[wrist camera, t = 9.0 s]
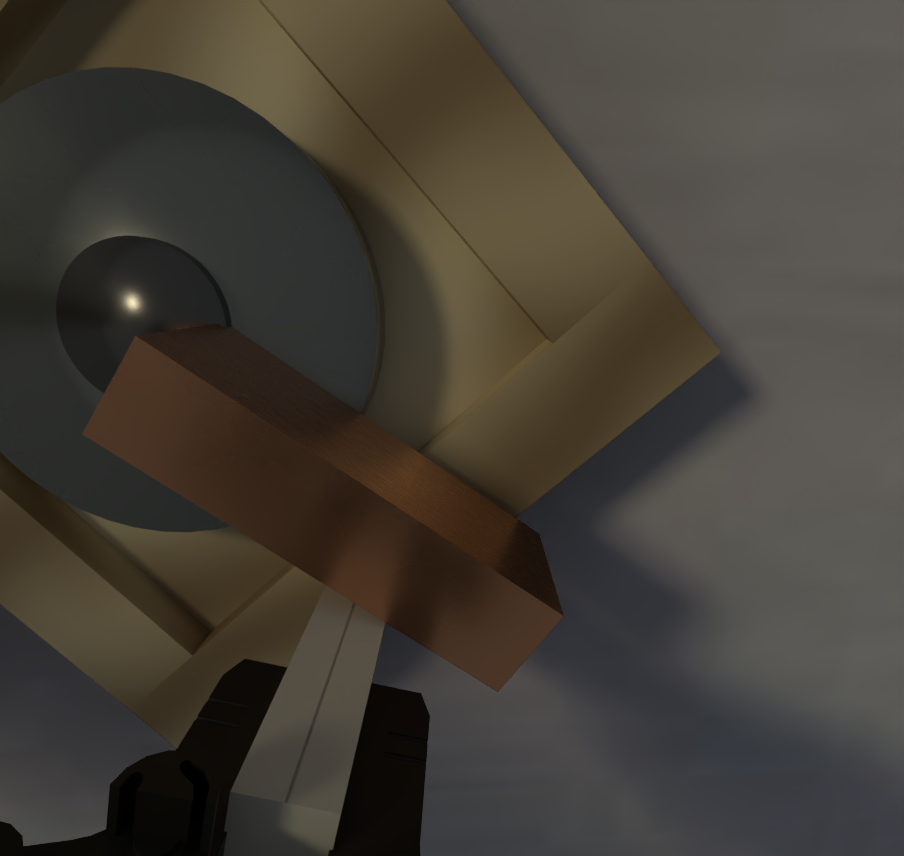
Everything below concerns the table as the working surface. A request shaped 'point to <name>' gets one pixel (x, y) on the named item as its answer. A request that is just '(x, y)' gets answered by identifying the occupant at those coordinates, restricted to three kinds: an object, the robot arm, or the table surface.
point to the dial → (231, 360)
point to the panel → (405, 301)
